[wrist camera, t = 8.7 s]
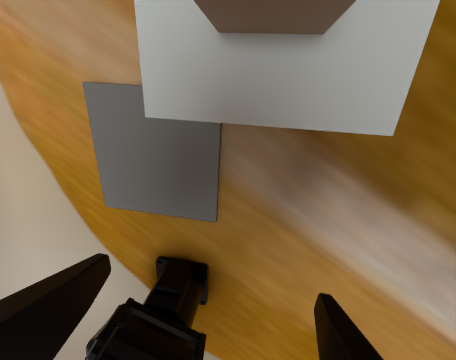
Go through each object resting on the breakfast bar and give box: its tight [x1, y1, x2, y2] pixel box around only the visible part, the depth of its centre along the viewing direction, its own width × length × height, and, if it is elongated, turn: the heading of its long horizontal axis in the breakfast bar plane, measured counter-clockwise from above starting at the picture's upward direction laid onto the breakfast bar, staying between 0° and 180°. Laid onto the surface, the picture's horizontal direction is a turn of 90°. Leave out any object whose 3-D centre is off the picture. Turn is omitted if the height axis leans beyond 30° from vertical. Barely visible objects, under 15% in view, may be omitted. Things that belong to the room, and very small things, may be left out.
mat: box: [82, 82, 221, 222], centre depth 21 cm, size 13×13×1 cm
